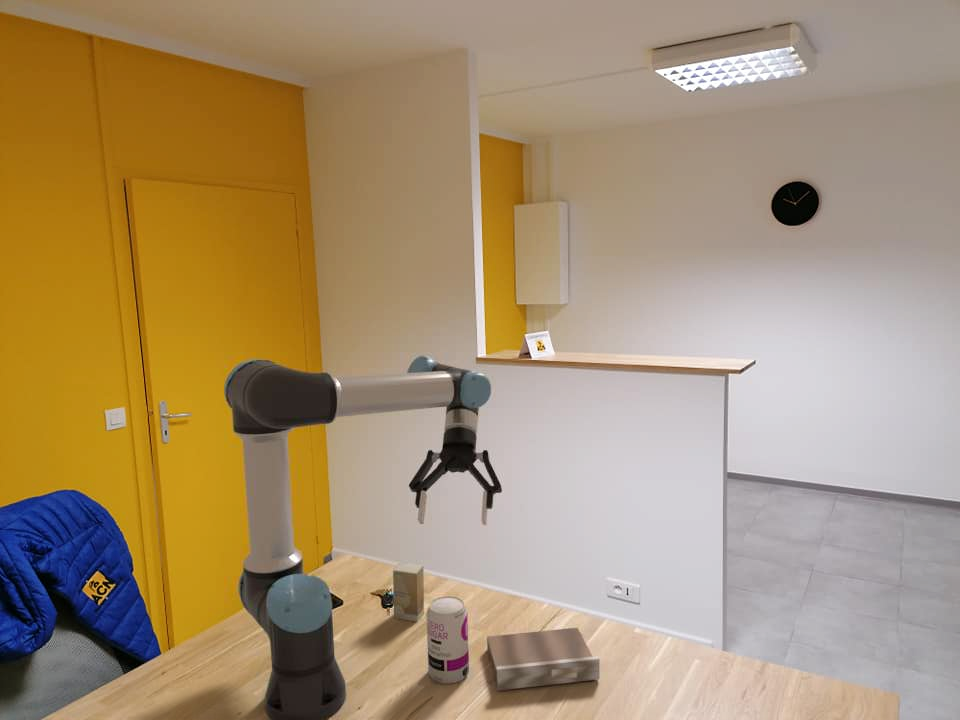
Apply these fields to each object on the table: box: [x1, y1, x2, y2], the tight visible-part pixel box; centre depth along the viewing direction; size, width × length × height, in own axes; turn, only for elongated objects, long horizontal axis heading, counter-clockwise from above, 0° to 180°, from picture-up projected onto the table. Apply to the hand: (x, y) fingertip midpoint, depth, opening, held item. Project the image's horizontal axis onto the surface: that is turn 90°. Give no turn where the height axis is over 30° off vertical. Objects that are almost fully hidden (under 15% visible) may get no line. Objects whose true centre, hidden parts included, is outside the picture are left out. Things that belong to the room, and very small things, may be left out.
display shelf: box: [486, 627, 600, 691], centre depth 144 cm, size 20×15×5 cm
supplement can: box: [425, 595, 470, 685], centre depth 141 cm, size 8×8×15 cm
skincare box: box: [392, 562, 425, 622], centre depth 164 cm, size 6×4×12 cm
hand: (452, 522), depth 147 cm, fingers open, 13 cm apart
